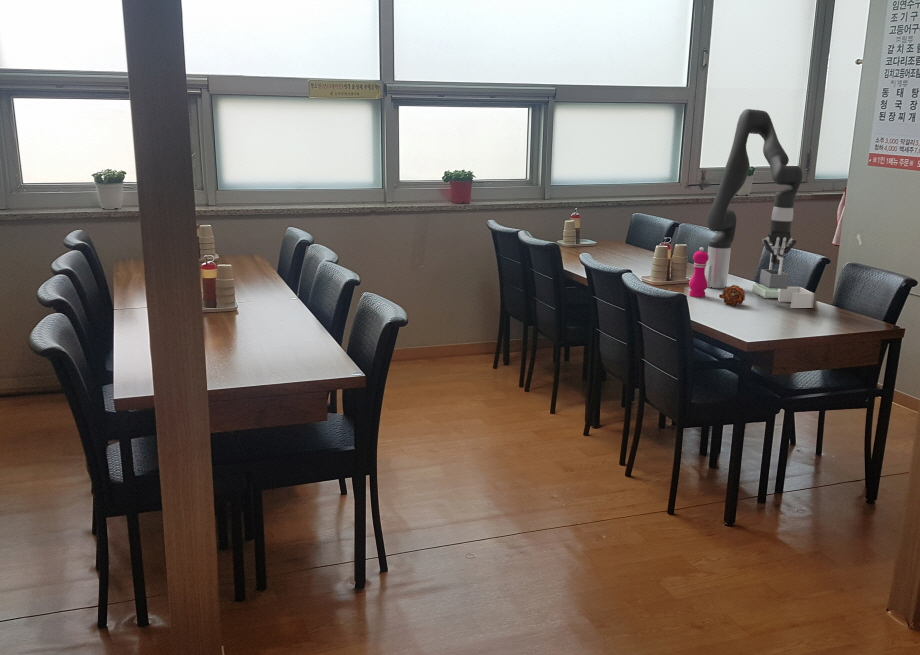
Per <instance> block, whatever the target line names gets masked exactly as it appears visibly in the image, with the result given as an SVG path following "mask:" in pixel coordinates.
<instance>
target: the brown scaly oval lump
mask: <svg viewBox="0 0 920 655" xmlns="http://www.w3.org/2000/svg"><path fill="white" fill-rule="evenodd" d="M718 297H719V299H722V300H723V303H724V304H725V305H730V306H732V307H736V306H737V305H742V304H743V302H744V301H745V300H746V299H745V298H746V296H745V290H744V289H743V288H742V287H740V286H739V285H737V284H733V285H729V286H727V287H726V288H723V290H722V291H721V293H720V294H719V295H718Z"/></svg>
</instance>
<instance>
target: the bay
mask: <svg viewBox="0 0 920 655" xmlns="http://www.w3.org/2000/svg"><path fill="white" fill-rule="evenodd" d="M815 295H816V293H814V292H812V291H811V290H810V291H809V290H807V288H806V289H805V288H803V287H801V286H788V287H787V289H780V291H779V299H777V301H779V303H790V309H791V308H813V309H814V302H815Z"/></svg>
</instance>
